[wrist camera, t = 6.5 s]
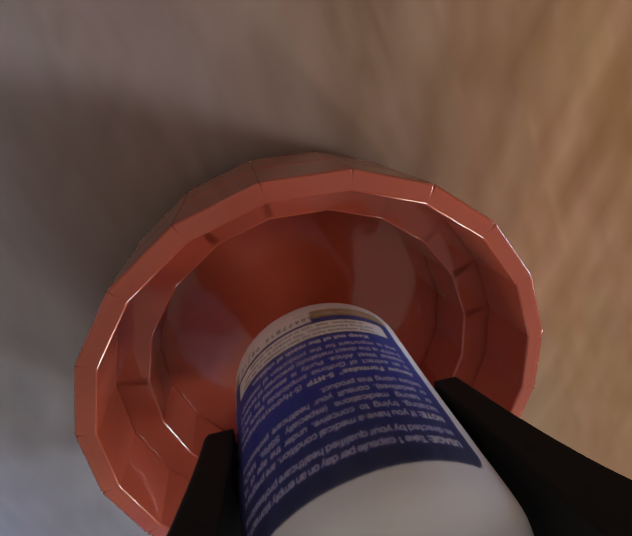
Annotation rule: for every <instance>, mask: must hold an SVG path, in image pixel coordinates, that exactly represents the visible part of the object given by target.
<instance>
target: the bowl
mask: <svg viewBox="0 0 632 536" xmlns="http://www.w3.org/2000/svg"><path fill="white" fill-rule="evenodd" d="M321 303H342V304H349V305H354V306H357V307H360V308H363V309H366V310H368V311H370V312H372V313H374V314H375V315H377V316H378V317H380V318H381V319H382V320H383V321H384V322H386V323H387V324H388V326H389V327H390V328H391V329H392V330H393V332H394V333H395V334H396V336H397V337H398V339H399V340H400V342H401V343H402V345H403V346H404V347H405V349H406V350H407V352H408V353H409V355H410V356H411V357H412V359H413V360H414V362H415V363H416V364H417V366H418V367H419V369H420V370H421V371H422V373H423V374H424V375H425V377H426V378H427V380H428V381H429V382H430V384H431V385H432V387H433V388H434V381H438V380H442V379H446V378H451V377H457V378H459V379H460V380H462V381H463V382H465V383H466V384H468V385H469V386H471V387H473V388H474V389H476V390H477V391H479V392H480V393H482V394H483V395H485V396H486V397H488V398H489V399H491V400H492V401H494V402H495V403H497V404H499V405H500V406H502V407H503V408H505V409H506V410H508V411H509V412H511V413H513V414H514V415H516V416H517V417H519V418H520V416H521V414H522V412H523V410H524V408H525V406H526V403H527V401H528V399H529V397H530V395H531V393H532V391H533V389H534V385H535V381H536V374H537V367H538V361H539V354H540V347H541V340H542V334H543V332H542V330H543V328H542V323H541V319H540V314H539V309H538V304H537V299H536V295H535V290H534V285H533V280H532V276H531V275H530V272H529V271H528V269H527V268H526V266H525V265H524V263H523V262H522V260H521V259H520V257H519V256H518V255H517V253H516V252H515V250H514V249H513V247H512V246H511V244H510V243H509V242H508V240H507V239H506V237H505V236H504V234H503V233H502V231H501V230H500V229H499V227H498V226H497V224H495V223H494V221H492V220H491V219H489V218H488V217H486V216H484V215H483V214H481V213H480V212H478V211H477V210H475V209H473V208H472V207H470V206H469V205H467V204H465V203H464V202H462V201H461V200H459V199H458V198H456V197H454V196H453V195H451V194H450V193H448V192H446V191H445V190H443V189H442V188H440V187H439V186H437V185H435V184H432V183H429V182H427V181H424V180H421V179H419V178H416V177H413V176H410V175H408V174H405V173H402V172H399V171H396V170H394V169H391V168H388V167H386V166H383V165H380V164H377V163H373V162H368V161H363V160H358V159H353V158H348V157H343V156H339V155H334V154H329V153H324V152H315V151H314V152H307V153H299V154H292V155H285V156H277V157H270V158H263V159H256V160H251V162H246V163H244V164H242V165H240V166H238V167H236V168H234V169H232V170H230V171H228V172H226V173H224V174H222V175H220V176H218V177H216V178H214V179H212V180H209V181H207V182H205V183H203V184H201V185H199V186H197V187H195V188H193V189H191V190H190V192H187V193H186V194H185V195H184V196H183V197H182V198H181V199H180V200H179V201H178V202H177V203H176V204H175V205H174V206H173V207H172V208H171V209H170V210H169V211H168V212H167V213H166V214H165V215H164V216H163V217H162V218H161V219H160V220H159V221H158V222H157V223H156V224H155V225H154V226H153V227H152V228H151V229H150V231H149V232H148V233H147V234H146V235H145V236H144V237H143V238H142V239H141V241H140V242H139V244H138V245H137V247H136V248H135V250H134V251H133V253H132V254H131V256H130V257H129V259H128V260H127V262H126V263H125V265H124V266H123V268H122V269H121V271H120V272H119V274H118V275H117V277H116V278H115V280H114V281H113V282H112V284H111V285H110V287H109V288H108V290H107V291H106V293H105V295H104V297H103V300H102V302H101V304H100V307H99V309H98V311H97V314H96V316H95V318H94V320H93V323H92V325H91V327H90V330H89V332H88V334H87V337H86V339H85V341H84V343H83V346H82V348H81V350H80V353H79V355H78V357H77V360H76V362H75V366H74V410H75V435H76V439H77V441H78V443H79V445H80V447H81V450H82V452H83V454H84V456H85V458H86V460H87V462H88V464H89V466H90V469H91V471H92V473H93V475H94V477H95V479H96V481H97V483H98V485H99V487H100V490H101V491H102V492H103V494H104V495H105V496H106V497H107V498H108V499H110V500H111V501H112V502H113V503H114V504H115V505H116V506H117V507H118V508H120V509H121V510H122V511H123V512H124V513H125V514H126V515H127V516H128V517H130V518H131V519H132V520H133V521H134V522H135V523H136V524H137V525H139V526H140V527H141V528H142V529H143V530H144V531H145V532H148V534H150V535H152V536H166V535H167V533H168V531H169V529H170V527H171V524H172V522H173V520H174V518H175V515H176V513H177V511H178V508H179V506H180V504H181V501H182V499H183V496H184V494H185V492H186V489H187V487H188V484H189V482H190V479H191V477H192V474H193V471H194V469H195V466H196V463H197V460H198V457H199V455H200V452H201V449H202V445H203V442H204V439H205V438H206V437H207V435H208V434H213V433H217V432H221V431H225V430H230V429H233V430H234V434H235V438H236V442H237V424H236V377H237V372H238V368H239V365H240V362H241V360H242V358H243V356H244V354H245V352H246V350H247V348H248V347H249V345H250V344H251V343H252V341H253V340H254V339H255V338H256V336H257V335H258V334H259V333H260V332H261V331H262V330H263V329H265V328H266V327H267V326H268V325H269V324H271V323H272V322H273V321H275V320H277V319H278V318H280V317H282V316H283V315H285V314H287V313H289V312H292V311H294V310H296V309H299V308H302V307H306V306H309V305H314V304H321Z"/></svg>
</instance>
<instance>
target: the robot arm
mask: <svg viewBox="0 0 632 536" xmlns="http://www.w3.org/2000/svg"><path fill="white" fill-rule="evenodd" d="M434 389H435V391H436V392H437V393H438V395H439V396H440V397H441V399H442V400H443V401H444V403H445V404H446V406H447V407H448V408H449V410H450V411H451V412H452V414H453V415H454V416H455V418H456V419H457V420H458V421H459V423H460V424H461V425H462V427H463V428H464V430H465V431H466V432H467V434H468V435H469V436H470V438H471V439H472V440H473V442H474V443H475V444H476V446H477V447H478V449H479V450H480V451H481V453H482V454H483V455H484V457H485V458H486V459H487V461H488V462H489V463H490V464H491V466H492V467H493V468H494V470H495V471H496V472H497V474H498V475H499V476H500V478H501V479H502V480H503V482H504V483H505V484H506V486H507V487H508V489H509V490H510V491H511V493H512V494H513V495H514V497H515V498H516V500H517V501H518V503H519V504H520V506H521V507H522V509H523V511H524V513H525V514H526V516H527V518H528V521H529V523H530V525H531V528H532V531H533V534H534V536H632V480H630V479H628V478H626V477H624V476H622V475H620V474H618V473H616V472H614V471H612V470H610V469H608V468H606V467H604V466H602V465H600V464H599V463H597V462H595V461H593V460H591V459H589V458H587V457H585V456H584V455H582V454H580V453H578V452H576V451H575V450H573V449H571V448H569V447H568V446H566V445H564V444H562V443H560V442H559V441H557V440H555V439H553V438H552V437H550V436H548V435H547V434H545V433H543V432H542V431H540V430H538V429H537V428H535V427H533V426H532V425H530V424H528V423H527V422H525V421H524V420H522V419H520V418H519V417H517V416H516V415H514V414H513V413H511V412H509V411H508V410H506V409H505V408H503V407H502V406H500V405H499V404H497V403H495V402H494V401H492V400H491V399H489V398H488V397H486V396H485V395H483V394H482V393H480V392H479V391H477V390H476V389H474V388H473V387H471V386H469V385H468V384H466V383H465V382H463V381H462V380H460V379H459V378H457V377H451V378H446V379H442V380H438V381H434ZM166 536H240V529H239V501H238V459H237V442H236V438H235V434H234V430H233V429H230V430H225V431H221V432H217V433H213V434H208V435H207V437H206V438H205V439H204V442H203V445H202V449H201V452H200V455H199V457H198V460H197V463H196V466H195V469H194V471H193V474H192V477H191V479H190V482H189V484H188V487H187V489H186V492H185V494H184V496H183V499H182V501H181V504H180V506H179V508H178V511H177V513H176V515H175V518H174V520H173V522H172V524H171V527H170V529H169V531H168V533H167V535H166Z"/></svg>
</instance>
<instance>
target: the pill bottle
mask: <svg viewBox="0 0 632 536" xmlns="http://www.w3.org/2000/svg"><path fill="white" fill-rule="evenodd" d="M236 424H237V459H238V501H239V529H240V536H534V534H533V531H532V528H531V525H530V523H529V521H528V518H527V516H526V514H525V513H524V511H523V509H522V507H521V506H520V504H519V503H518V501H517V500H516V498H515V497H514V495H513V494H512V493H511V491H510V490H509V489H508V487H507V486H506V484H505V483H504V482H503V480H502V479H501V478H500V476H499V475H498V474H497V472H496V471H495V470H494V468H493V467H492V466H491V464H490V463H489V462H488V461H487V459H486V458H485V457H484V455H483V454H482V453H481V451H480V450H479V449H478V447H477V446H476V444H475V443H474V442H473V440H472V439H471V438H470V436H469V435H468V434H467V432H466V431H465V430H464V428H463V427H462V425H461V424H460V423H459V421H458V420H457V419H456V418H455V416H454V415H453V414H452V412H451V411H450V410H449V408H448V407H447V406H446V404H445V403H444V401H443V400H442V399H441V397H440V396H439V395H438V393H437V392H436V391H435V389H434V388H433V387H432V385H431V384H430V382H429V381H428V380H427V378H426V377H425V375H424V374H423V373H422V371H421V370H420V369H419V367H418V366H417V364H416V363H415V362H414V360H413V359H412V357H411V356H410V355H409V353H408V352H407V350H406V349H405V347H404V346H403V345H402V343H401V342H400V340H399V339H398V337H397V336H396V334H395V333H394V332H393V330H392V329H391V328H390V327H389V326H388V324H387V323H386V322H384V321H383V320H382V319H381V318H380V317H378V316H377V315H375V314H374V313H372V312H370V311H368V310H366V309H363V308H360V307H357V306H354V305H349V304H342V303H321V304H314V305H309V306H306V307H302V308H299V309H296V310H294V311H292V312H289V313H287V314H285V315H283V316H282V317H280V318H278V319H277V320H275V321H273V322H272V323H271V324H269V325H268V326H267V327H266V328H265V329H263V330H262V331H261V332H260V333H259V334H258V335H257V336H256V338H255V339H254V340H253V341H252V343H251V344H250V345H249V347H248V348H247V350H246V352H245V354H244V356H243V358H242V360H241V362H240V365H239V368H238V372H237V377H236Z"/></svg>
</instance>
